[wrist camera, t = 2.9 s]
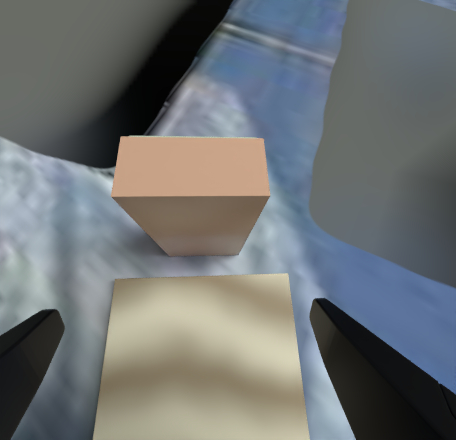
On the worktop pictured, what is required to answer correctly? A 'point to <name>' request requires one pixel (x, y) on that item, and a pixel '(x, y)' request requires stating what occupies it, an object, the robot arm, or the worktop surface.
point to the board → (201, 361)
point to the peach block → (193, 190)
